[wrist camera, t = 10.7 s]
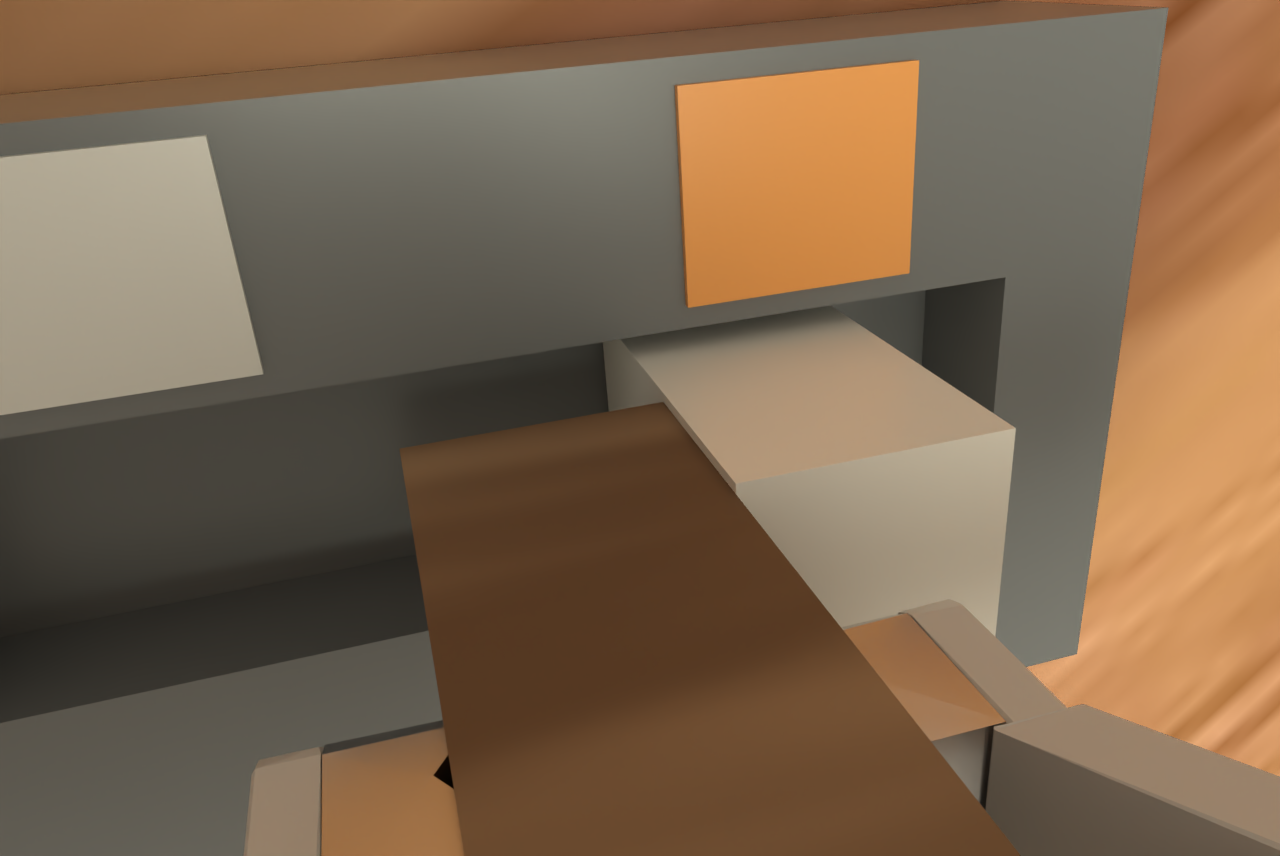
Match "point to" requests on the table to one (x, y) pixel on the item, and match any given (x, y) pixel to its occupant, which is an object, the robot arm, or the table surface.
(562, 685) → the brown wooden beam
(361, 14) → the table surface
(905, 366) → the switch tab
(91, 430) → the switch panel
